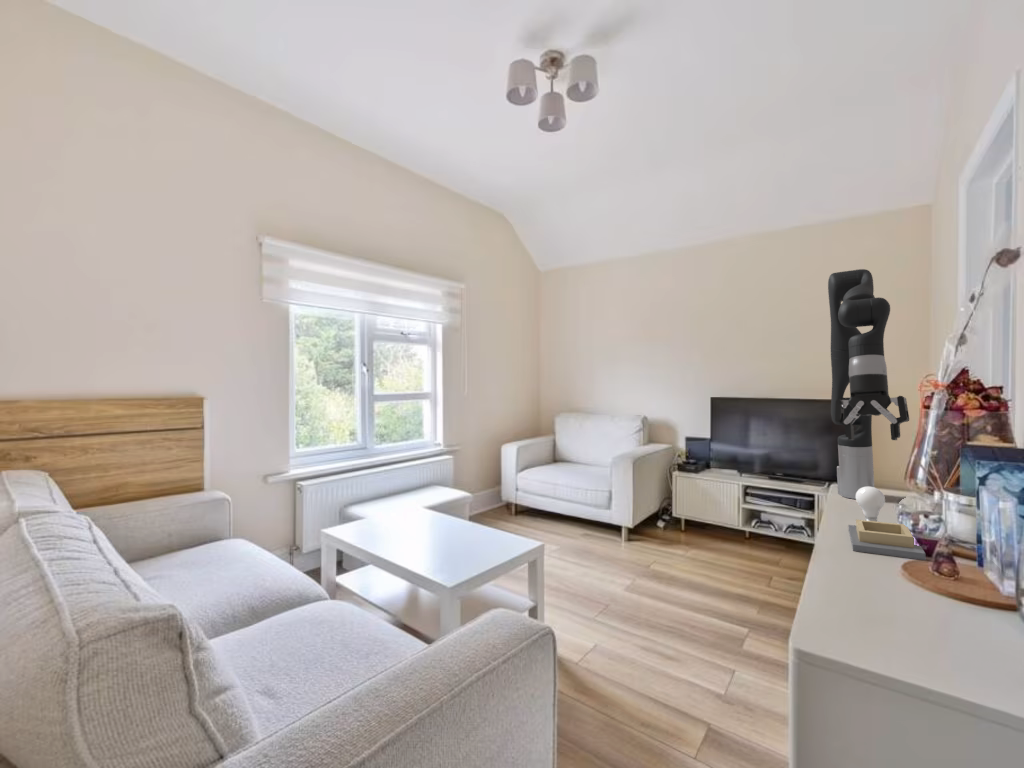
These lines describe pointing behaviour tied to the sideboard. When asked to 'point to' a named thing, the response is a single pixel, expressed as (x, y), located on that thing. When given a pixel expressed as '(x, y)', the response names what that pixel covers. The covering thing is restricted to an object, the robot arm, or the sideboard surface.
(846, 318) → the robot arm
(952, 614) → the sideboard surface
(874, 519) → the lightbulb
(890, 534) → the bulb socket
